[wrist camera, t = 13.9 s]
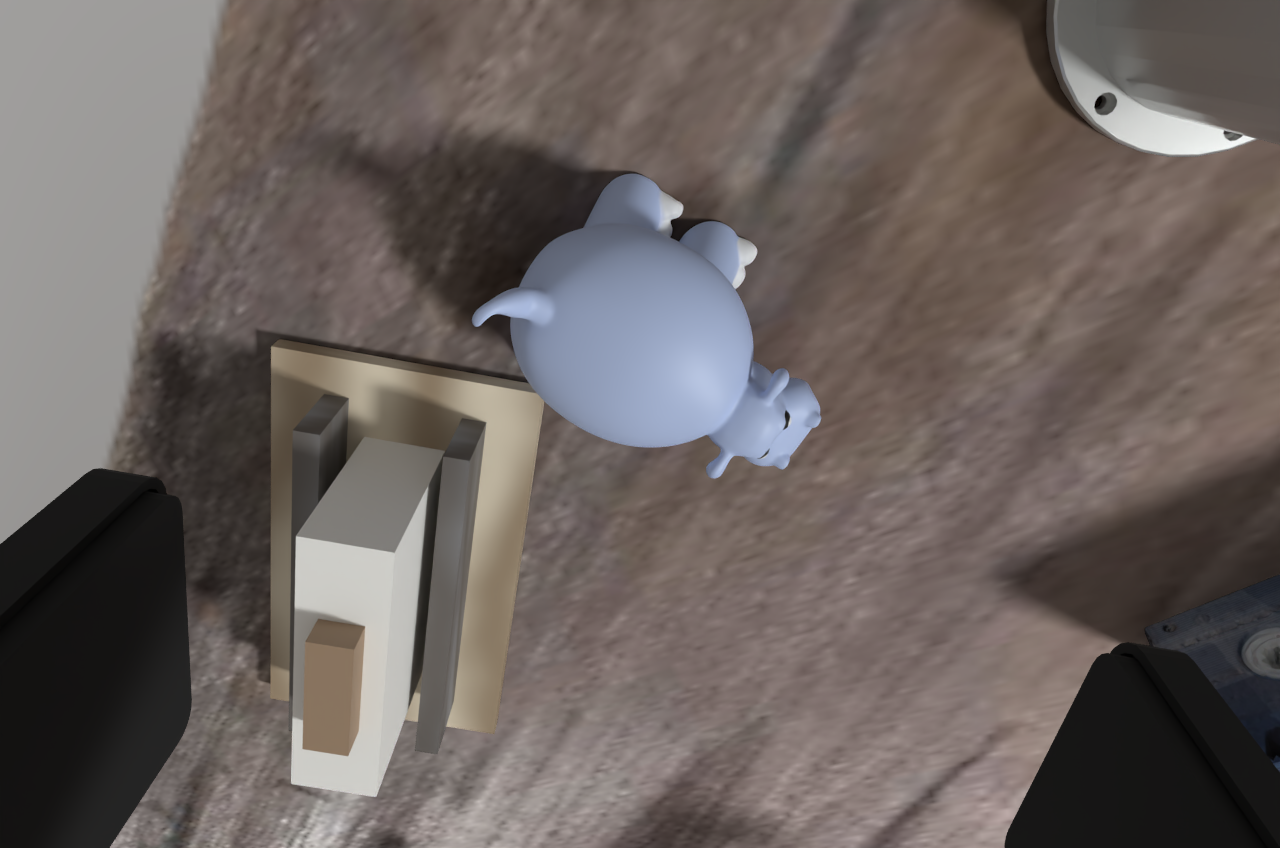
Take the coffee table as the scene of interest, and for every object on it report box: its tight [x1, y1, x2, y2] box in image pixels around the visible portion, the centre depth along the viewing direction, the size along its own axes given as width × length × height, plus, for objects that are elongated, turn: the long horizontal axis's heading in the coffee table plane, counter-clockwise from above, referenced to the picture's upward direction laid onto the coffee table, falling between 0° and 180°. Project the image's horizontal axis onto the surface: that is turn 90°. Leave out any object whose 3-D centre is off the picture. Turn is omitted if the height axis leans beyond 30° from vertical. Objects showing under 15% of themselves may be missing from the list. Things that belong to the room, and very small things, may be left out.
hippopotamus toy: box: [472, 174, 821, 478], centre depth 39 cm, size 11×15×10 cm
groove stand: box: [270, 339, 544, 754], centre depth 47 cm, size 13×22×5 cm, turn 170°
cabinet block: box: [291, 437, 445, 797], centre depth 43 cm, size 4×14×10 cm, turn 170°
